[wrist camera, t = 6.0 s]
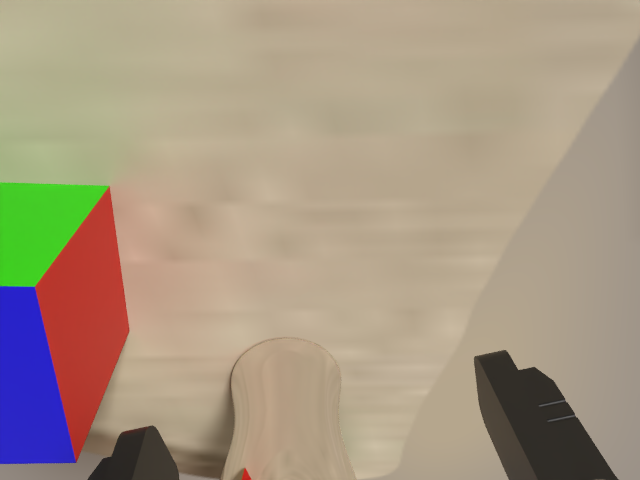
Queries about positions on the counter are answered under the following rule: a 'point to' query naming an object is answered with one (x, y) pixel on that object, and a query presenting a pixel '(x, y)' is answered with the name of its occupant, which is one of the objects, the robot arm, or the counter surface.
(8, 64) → the counter surface
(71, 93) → the counter surface
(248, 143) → the counter surface
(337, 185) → the counter surface
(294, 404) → the beer glass
